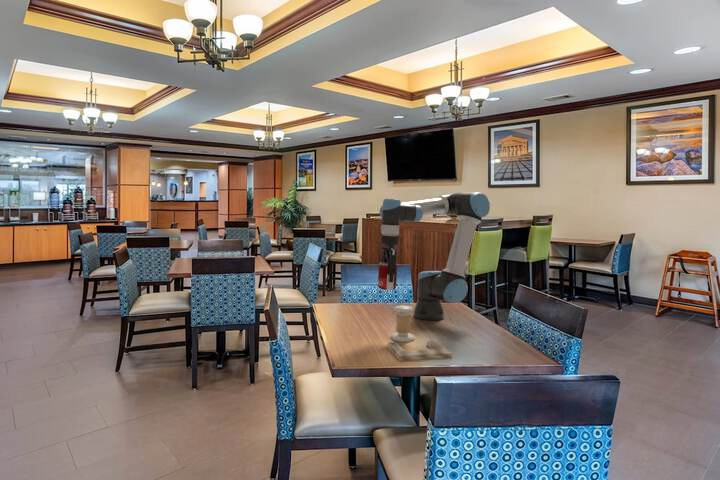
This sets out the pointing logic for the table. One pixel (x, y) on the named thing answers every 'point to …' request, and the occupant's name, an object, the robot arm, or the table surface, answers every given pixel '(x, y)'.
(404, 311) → the bobbin
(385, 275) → the canned food
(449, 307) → the table surface
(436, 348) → the notched board
